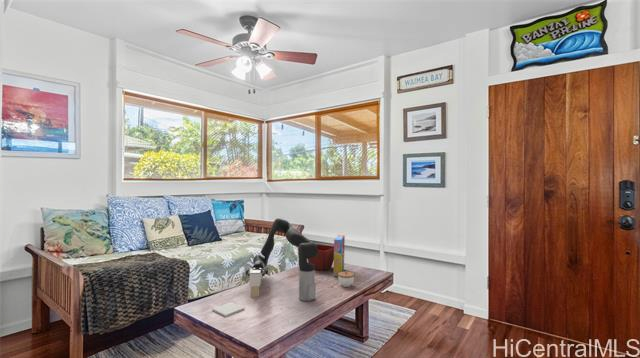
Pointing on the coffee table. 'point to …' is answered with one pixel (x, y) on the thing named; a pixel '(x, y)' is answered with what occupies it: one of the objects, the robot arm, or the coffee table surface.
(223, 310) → the grey mat
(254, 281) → the white rectangular block
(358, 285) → the coffee table surface
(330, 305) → the coffee table surface
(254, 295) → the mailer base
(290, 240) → the robot arm
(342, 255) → the game box
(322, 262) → the plant pot
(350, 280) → the lidded jar
